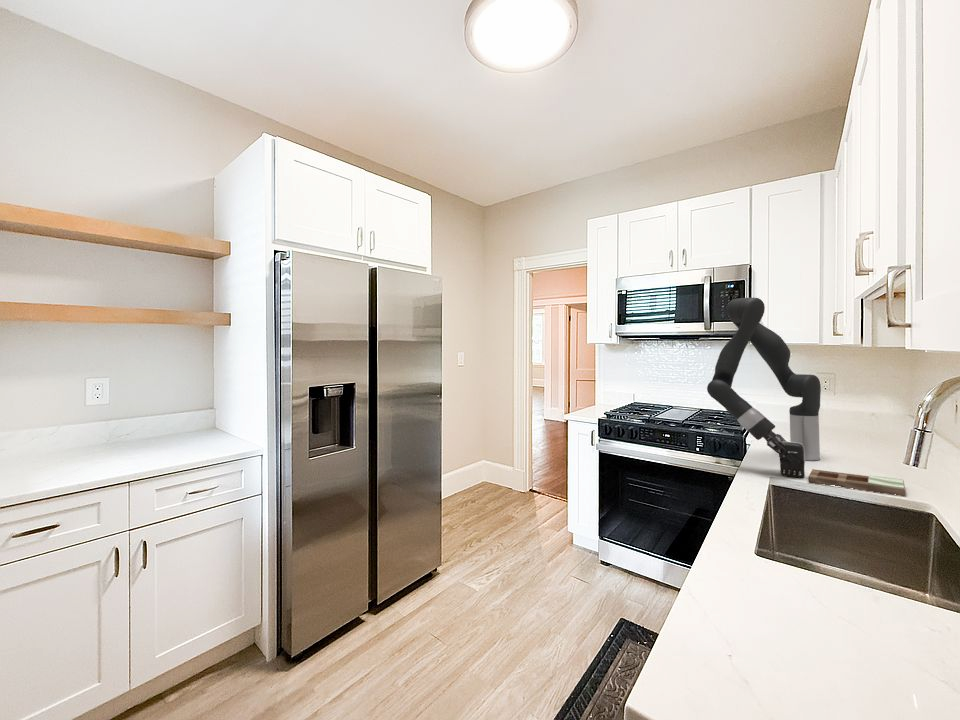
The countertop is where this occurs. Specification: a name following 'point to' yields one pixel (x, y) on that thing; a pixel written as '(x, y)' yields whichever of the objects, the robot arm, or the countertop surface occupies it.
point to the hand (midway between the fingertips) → (798, 462)
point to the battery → (787, 466)
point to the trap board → (858, 482)
